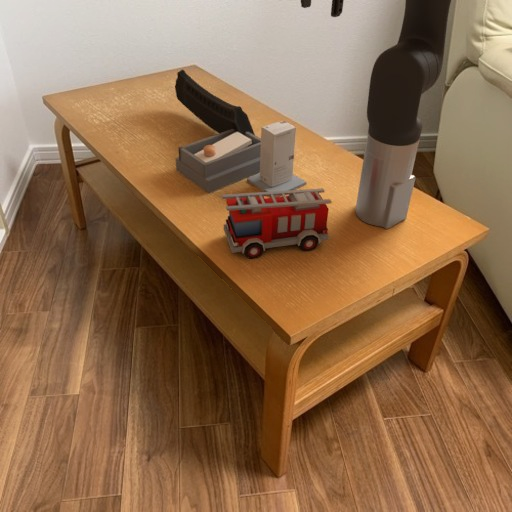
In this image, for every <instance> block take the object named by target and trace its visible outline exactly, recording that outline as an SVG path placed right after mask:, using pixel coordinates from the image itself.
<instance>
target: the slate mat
mask: <svg viewBox="0 0 512 512" xmlns="http://www.w3.org/2000/svg"><path fill="white" fill-rule="evenodd" d="M246 181H247V182H249V184H251V185H253V186H255V187H256V188H258V189H259V190H260V191H261V192H262V191H263V192H273V191H289V190H298V189H299V188H301V187H305V186H306V185H307V181H306V180H304V179H302V178H301V177H298V176H296V175H295V174H294V173H293V177H292V180H290V181H287V182H285V183H282V184H279V185H276V186H274V187H270V186H268V185H267V184H265V183H264V182H263V181H261V180H260V173H257V174H255V175H252V176H250V177H247V178H246ZM274 197H282V195H277V196H274Z"/></svg>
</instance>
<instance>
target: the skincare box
mask: <svg viewBox="0 0 512 512" xmlns="http://www.w3.org/2000/svg"><path fill="white" fill-rule="evenodd" d="M260 129H261V131H260V138H261V153H260V180H261V181H263V182H264V183H265V184H267V185H268V186H270V187H274V186H276V185H279V184H282V183H285V182H287V181H290V180H292V177H293V174H294V173H293V172H294V158H295V145H296V132H297V131H296V129H297V127H296V126H294V125H293V124H291V123H289V122H287V121H285V120H281V121H277V122H272V123H269V124H267V125H264V126H261V128H260Z"/></svg>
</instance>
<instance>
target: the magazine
mask: <svg viewBox="0 0 512 512" xmlns="http://www.w3.org/2000/svg"><path fill="white" fill-rule="evenodd" d="M176 75H177V77H176V79H175V84H174V89H175V93H176V94H175V95H176V99H177V100H178V101H179V102H180V103H181V104H182V105H183V106H184V107H185V108H186V109H188V110H189V112H191V113H192V114H193V115H194V116H195V117H197V118H198V119H199V120H200V121H201V122H202V123H203V124H204V125H206V126H208V127H209V128H210V129H212V130H213V131H214V132H216V133H217V134H219V133H222V132H225V131H228V130H231V129H234V130H235V132H239V133H241V134H242V135H244V136H246V135H245V132H250V133H252V134H253V135H255V136H256V134H255V132H254V129H253V127H252V124H251V121H250V119H249V116H248V114H247V113H246V112H245V111H244V110H243V107H241V106H240V105H238V106H237V105H233V104H230V103H228V102H227V101H225V100H224V99H221V98H220V97H218V96H216V95H214V94H213V93H211V92H210V91H208V90H207V89H206V88H204V87H202V85H200V84H199V83H197V81H196V80H194V79H193V78H192V77H191V76H190V75H189V74H187V72H186V71H185V70H184V69H181V70H179V71H177V73H176Z"/></svg>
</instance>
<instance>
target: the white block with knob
mask: <svg viewBox="0 0 512 512" xmlns="http://www.w3.org/2000/svg"><path fill="white" fill-rule="evenodd" d="M250 144H252V140H251V139H250V138H248V137H246V136H244V135H242V134H241V133H239V132H235V133H233V134H231V135H229V136H228V137H226V138H224V139H222V140H220V141H218V142H216V143H214V144H213V145H206V146H205V147H204V148H203V150H201V151H200V152H198V153H196V154H194V155H195V156H197V157H198V158H200V159H201V160H203V161H204V162H209V161H211V160H214V159H217V158H219V157H222V156H225V155H227V154H230V153H233V152H235V151H238V150H241V149H243V148H245V147H247V146H248V145H250Z"/></svg>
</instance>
